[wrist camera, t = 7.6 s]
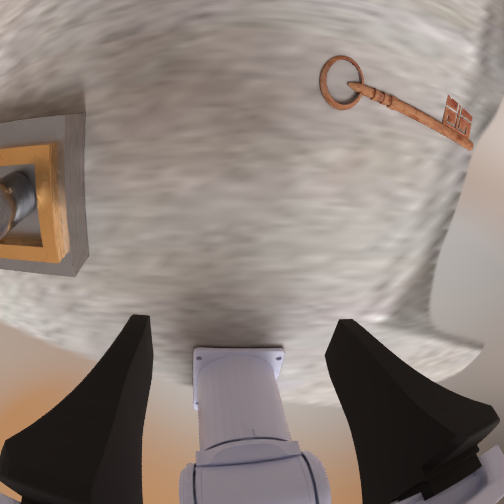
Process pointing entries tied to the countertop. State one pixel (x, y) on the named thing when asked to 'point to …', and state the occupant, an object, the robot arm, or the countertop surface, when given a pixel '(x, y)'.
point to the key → (404, 107)
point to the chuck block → (47, 194)
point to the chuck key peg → (14, 200)
